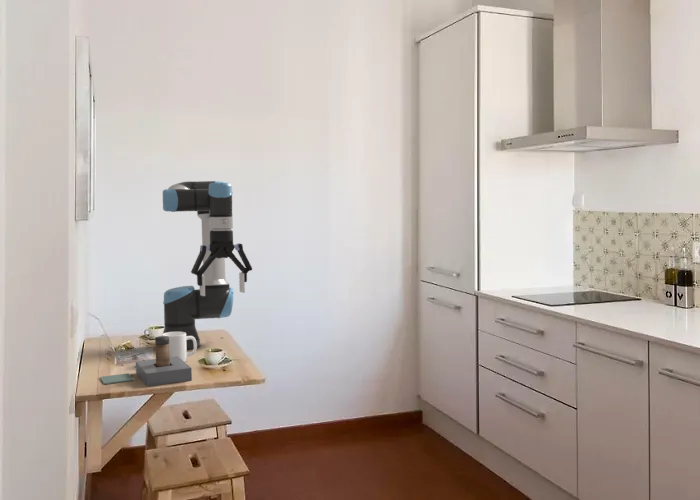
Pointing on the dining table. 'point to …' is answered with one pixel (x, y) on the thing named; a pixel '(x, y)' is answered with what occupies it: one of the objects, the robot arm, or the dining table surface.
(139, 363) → the socket block
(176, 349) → the cup
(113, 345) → the dining table surface
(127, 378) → the mat
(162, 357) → the plug
